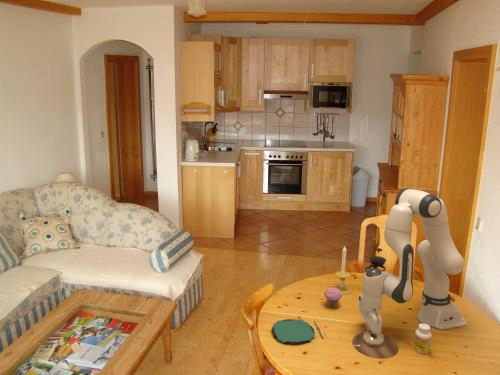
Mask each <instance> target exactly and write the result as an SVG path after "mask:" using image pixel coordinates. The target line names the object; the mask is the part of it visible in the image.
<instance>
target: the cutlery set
mask: <svg viewBox="0 0 500 375" xmlns="http://www.w3.org/2000/svg"><path fill="white" fill-rule="evenodd" d="M313 323H314V325H315V327H316V329H317V331H318V334H319V336H320V337H321V338H322V340H324V336H325V337H327V335H326V332H324V335H323V334H322V332H321V330H320V326H318V324H317V323H316V321H315V320H314V321H313ZM271 330H272V334H273V336H274V337H275V338H276V339H277V341H278V342H279V343H281V344H285V343H289V344H302V343H306V342H311V341H312V340H313V339H315V336H316V335H315V334H316V333H315V329H314V327H313V326H312V325H311V324H310V323H309V322H308V321H305V320H302V319H300V318H299V319H298V318H297V319H295V318H291V319H289V318H287V319H280V320H277V321H276V322H275V323H274V324H273V323H272V328H271Z"/></svg>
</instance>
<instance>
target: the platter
mask: <svg viewBox="0 0 500 375" xmlns="http://www.w3.org/2000/svg"><path fill="white" fill-rule="evenodd" d="M363 334H364V332H361V333H358V334H355V336H353V338H352V340H351V342H352V343H351V344H352V346H353V348H354V349H355V350H356V351H357V352H359V353H360V354H362V355H364V356H366V357H369V358H373V359H380V360H381V359H383V360H385V359H390V358H393V357H395V356H397V355H398V353H399V351H400V348H399V347H400V346H399V345H398V343H397V342H396V341H395V340H394V339H393V338H391V337H390V336H387V335H385V334H383V335H384V344H383V346H381V347H378V348H374V347H370V346H367V345H366V344H365V343H364V342H363Z"/></svg>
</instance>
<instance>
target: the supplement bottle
mask: <svg viewBox="0 0 500 375" xmlns="http://www.w3.org/2000/svg"><path fill="white" fill-rule="evenodd" d="M414 334H415V335H414V342H413V350H414V351H415V352H416V353H418V354H420V355H427V356H429V355H430V353H431V344H432V337H433V335H432V332H431V326H429V325H427V324H424V323H419V324H418V328H417V329H416V330H415V333H414Z"/></svg>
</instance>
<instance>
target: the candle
mask: <svg viewBox="0 0 500 375" xmlns="http://www.w3.org/2000/svg"><path fill="white" fill-rule="evenodd" d="M341 253H342V254H341V256H342V257H341V268H340V269H341V270H338V271H335V273H334V275H335V276H336V277H338V278H340V280H339V285H335V286H334V287H335V288H337V289H338V290H340V291H341V293H342V295H349V294H350V293H351V292H352V290H351V288H350V287H348V286H346V282H345V281H346V279H348V278H350V277H351V275H352V274H351V273H350V272H349V271H346V263H347V262H346V261H347V248H346V245H344V246H343V248H342V252H341Z"/></svg>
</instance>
